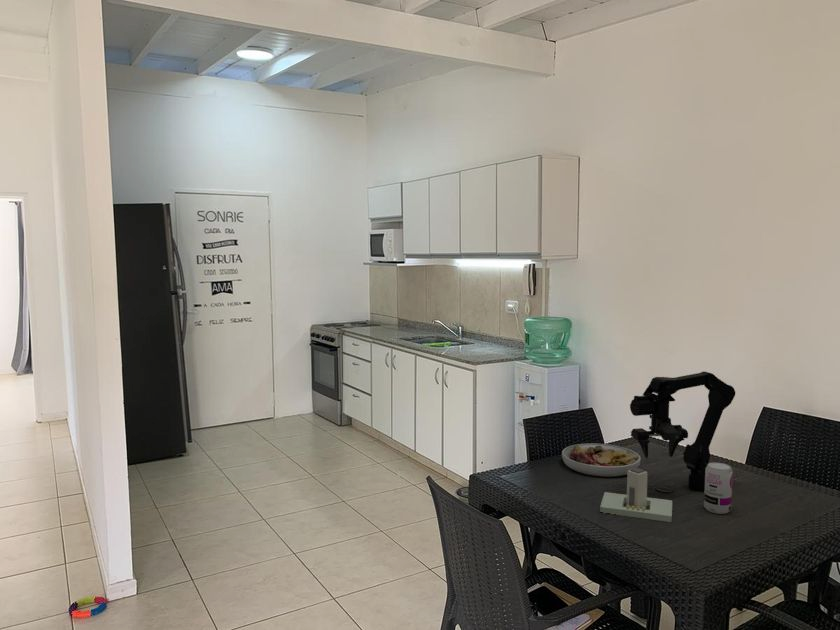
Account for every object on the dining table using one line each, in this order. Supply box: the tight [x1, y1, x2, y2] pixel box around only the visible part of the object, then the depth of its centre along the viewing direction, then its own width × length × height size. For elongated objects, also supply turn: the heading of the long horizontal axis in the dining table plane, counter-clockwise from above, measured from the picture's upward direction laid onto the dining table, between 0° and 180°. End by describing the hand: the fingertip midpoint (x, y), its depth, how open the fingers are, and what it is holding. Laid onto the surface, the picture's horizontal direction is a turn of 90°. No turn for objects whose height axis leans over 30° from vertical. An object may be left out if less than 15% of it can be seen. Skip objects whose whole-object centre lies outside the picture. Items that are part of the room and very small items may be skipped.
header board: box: [599, 491, 673, 523], centre depth 225 cm, size 22×14×3 cm, turn 69°
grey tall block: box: [625, 467, 648, 510], centre depth 224 cm, size 5×4×14 cm
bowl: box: [561, 442, 642, 478], centre depth 268 cm, size 30×30×8 cm
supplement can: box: [703, 462, 734, 515], centre depth 223 cm, size 8×8×15 cm
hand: (658, 457), depth 238 cm, fingers open, 9 cm apart
